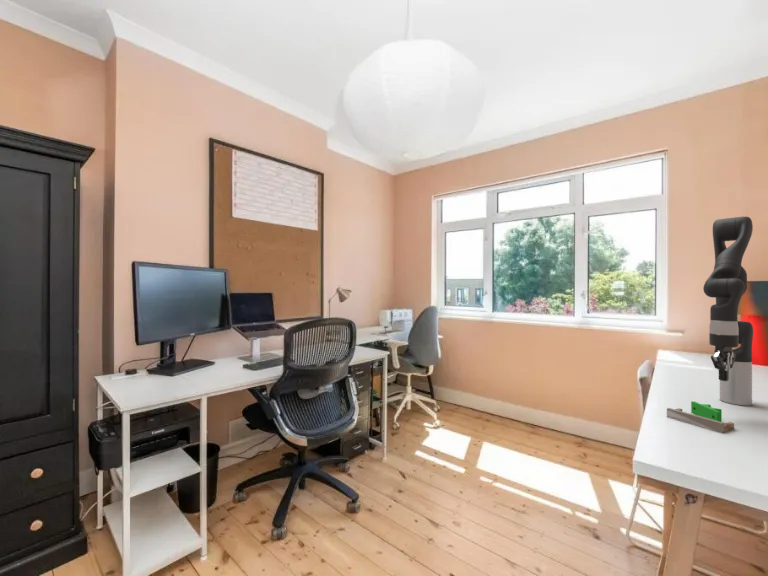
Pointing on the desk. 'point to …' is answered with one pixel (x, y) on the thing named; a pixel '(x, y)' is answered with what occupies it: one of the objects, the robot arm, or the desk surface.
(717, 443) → the desk surface
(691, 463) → the desk surface
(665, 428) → the desk surface
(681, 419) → the channel stop
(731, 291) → the robot arm
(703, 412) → the pipe clamp
